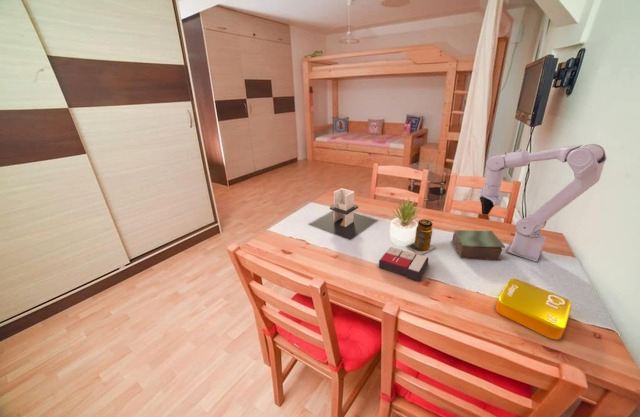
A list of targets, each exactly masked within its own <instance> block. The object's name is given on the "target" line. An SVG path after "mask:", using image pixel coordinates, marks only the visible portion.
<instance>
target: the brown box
mask: <svg viewBox="0 0 640 417" xmlns="http://www.w3.org/2000/svg"><path fill="white" fill-rule="evenodd" d="M451 243H452V246H453V247H454V249H455V251H456V253H457V254H458V257H459V259H469V260H471V259H474V260H485V261H486V260H487V261H499V260H500V257H501V253H502V250H503V248H499V247H468V246H462V244H461V242H460V241H459V239H458V237H457V236H456V234H455V232H454V231H453V235H452V240H451Z"/></svg>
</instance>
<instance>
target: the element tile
mask: <svg viewBox="0 0 640 417" xmlns="http://www.w3.org/2000/svg"><path fill="white" fill-rule="evenodd" d="M571 310H572V302H571V301H570V300H569V299H568V298H566V297H564V296H562V295H559V294H557V293H554V292H551V291H549V290H546V289H544V288H540V287H538V286H536V285H533V284H531V283H528V282H526V281H523V280H520V279H517V278H511V279H509V280H508V281H507V283H506V285H505V286H504V288H503V290H502V292H501V294H500V295H499V297H498V299H497V302H496V306H495V311H496V313H498V314H499V315H501V316H502V317H505V318H507V319H509V320H511V321H513V322H515V323H517V324H520V325H522V326H524V327H525V328H527V329H530V330H532V331H534V332H536V333H538V334H540V335H542V336H544V337H547V338H549V339H552V340H555V341H556V340H561V338H562V336H563V334H564V332H565V331H566V328H567V324H568V320H569V317H570V314H571Z"/></svg>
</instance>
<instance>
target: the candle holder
mask: <svg viewBox="0 0 640 417" xmlns="http://www.w3.org/2000/svg"><path fill="white" fill-rule="evenodd" d="M357 209H359V205H357V204H355V191H354V190H350V189H346V188H339V189H336V190H335V191H333V204H332V205H330V206H329V210H331V211H330V212H329V213H326V214H325V215H323V216H321V217H320V218H317V219H316V220H314V221H313V222H310V223H309V225H310V226H313V227H315V228H318V229H320V230H323V231H326V232H327V233H331V234H333V235H336V236H338V237H341V238H344V239H347V240H349V241H351V240H352V239H354V238H355V237H357V236H358V235H359V234H361V233H363V231H365V230H366V229H367V228H369V227H370V226H371V225H373V224H374V223H375V222H377V221H378V219H375V218H372V217H370V216H369V217H368V216H365V215H362V214H360V213H356V212H355V211H356V210H357Z"/></svg>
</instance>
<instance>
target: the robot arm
mask: <svg viewBox="0 0 640 417" xmlns="http://www.w3.org/2000/svg"><path fill="white" fill-rule="evenodd" d="M550 160H558V161H559V162H562V163H566V162H567V164H568V166H569V168H570V169H571V170H572V172H573V175H574V179H573V180H571V182H569V183H568V184H567V185H565V186H564V187H563V188H562V189H561V190H559V191H558V192H557V193H556V194H555V195H553V196H552V197H550V198H549V200H547V201H546V202H545V203H544V204H543V205H541V206H540V207H539V208H538V209H536V210H535V211H534V212H532V213H530V214H529V215H527V216H526V217H523V218H522V219H519V220H517V222H516V223H515V225H514V226H515V234H514V237H513V240H512V243H511V245H509V248H508V249H507V253H508V254H511V255H514V256H517V257H521V258H524V259H527V260H530V261H532V262H538V261H539V258H540V256H542V253H543V247H544V245H545V242H546V239H547V237H546V236H544V235H542V234H541V230H542V229H544V228H545V227H546V225H547V222H548V221H549V220H551V218H553V217H554V216H556V215H557V214H558V213H559V212H560V211H562V210H564V208H566V207H567V206H568V205H570V204H571V203H572V202H574V201H575V200H576V199H577V198H579V197H580V196H581V195H583V194H584V193H585V192H587V191H588V190H589V189H591V188H592V187H594V186H595V185H596V184H597V183H599V181H600V180H601V175H602V172H603V170H604V169H603V168H604V165H605V163H606V161H607V154H606V150H605V149H604V147H603V146H601V145H600V144H596V143H588V144H586V145H584V144H578V145H577V144H576V145H567V146H559V147H555V148H549V149H545V150H539V151H533V152H529V151H528V150H525V149H524V150H522V149H516V150H515V151H513V152H502V153H500V154H496V155H492V156H490V157H489V158H487V160H486V163H485V164H486V167H487V170H486V175H485V179H484V183H483V187H481V188H480V190H479V193H478V196H480V197H479V200H480V204H481V214H482V215H483V216H488V215H489V214H490V212H492V209H493V208H494V207H495V206H500V204H501V200H500V195H499V193H500V190H501V187H502V182H503V180H504V179H503V177H504V175H505V171H506V169H513V168H519V167H520V168H521V167H522V168H523V167H528V166H529V164H531V163H532V162H540V161H550Z"/></svg>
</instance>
